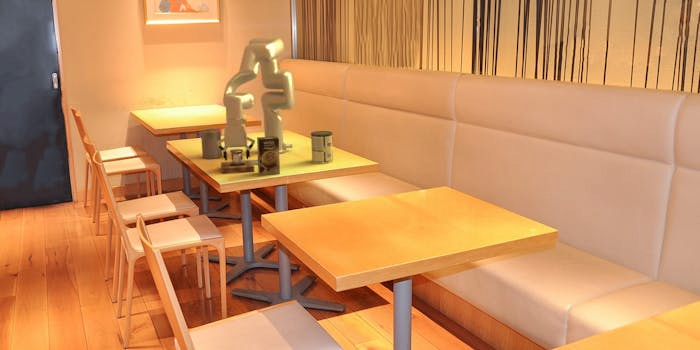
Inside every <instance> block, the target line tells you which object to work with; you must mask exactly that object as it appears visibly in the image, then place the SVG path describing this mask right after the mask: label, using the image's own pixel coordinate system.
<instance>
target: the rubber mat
mask: <svg viewBox="0 0 700 350" xmlns="http://www.w3.org/2000/svg"><path fill="white" fill-rule="evenodd" d="M243 161H252V163H253V165H254V166H255V165H257V166H258V159H246V160H244V159H243Z"/></svg>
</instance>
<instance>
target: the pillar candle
mask: <svg viewBox="0 0 700 350" xmlns="http://www.w3.org/2000/svg"><path fill="white" fill-rule="evenodd" d="M221 134H222V133H221V129H219V128H211V127H210V128H207V129H202V130H201V131H200V137H201V138H200V139H201V151H202V159H205V160H213V159H221V158H222V157H223V151H222V150H221V149H220V148H219V147H218V145H217V142H218V141H219V140H221V139H222V136H221Z"/></svg>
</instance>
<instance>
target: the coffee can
mask: <svg viewBox="0 0 700 350" xmlns="http://www.w3.org/2000/svg"><path fill="white" fill-rule="evenodd" d="M310 138H311V139H310V140H311V141H310V142H311V163H314V164H329V163H330V164H331V163H332V162H334V158H333V157H334V156H333V155H334V154H333V132H332V131H328V130H317V131H312V132H310Z"/></svg>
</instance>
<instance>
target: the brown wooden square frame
mask: <svg viewBox="0 0 700 350" xmlns="http://www.w3.org/2000/svg"><path fill="white" fill-rule="evenodd" d="M220 167H221V168H220V169H221V172H222V174H223V175H226V174H227V175H228V174H238V173H239V174H240V173H241V174H242V173H254V172H255V165H253V163H252V161H243V166H232V161H221V162H220Z"/></svg>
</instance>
